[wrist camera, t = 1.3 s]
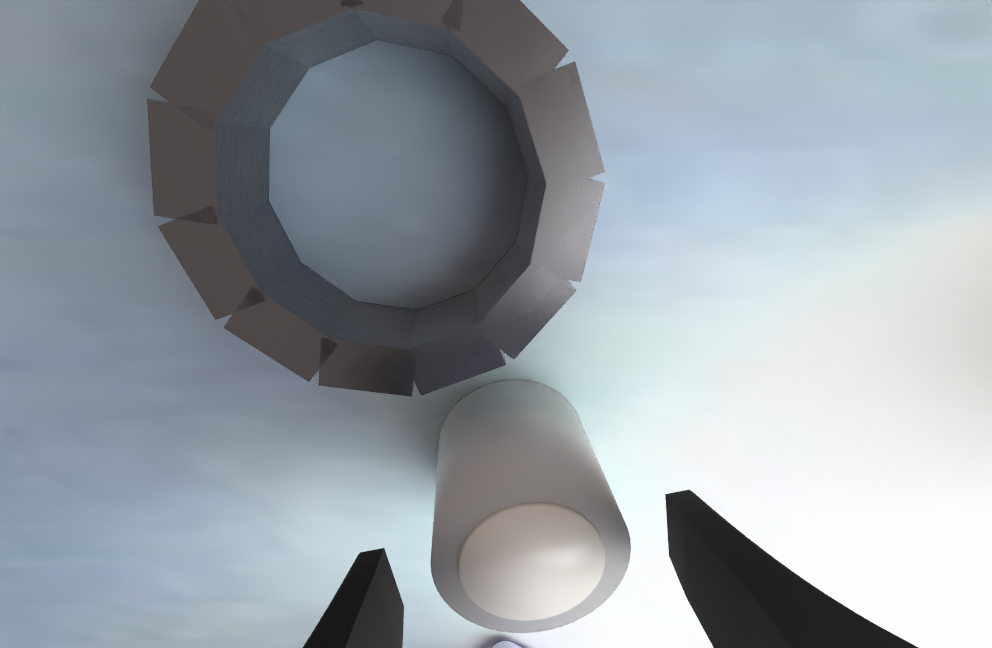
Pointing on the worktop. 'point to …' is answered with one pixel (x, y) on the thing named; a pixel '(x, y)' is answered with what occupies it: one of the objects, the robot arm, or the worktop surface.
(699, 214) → the worktop surface
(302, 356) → the segmented grey ring
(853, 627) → the robot arm
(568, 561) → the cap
